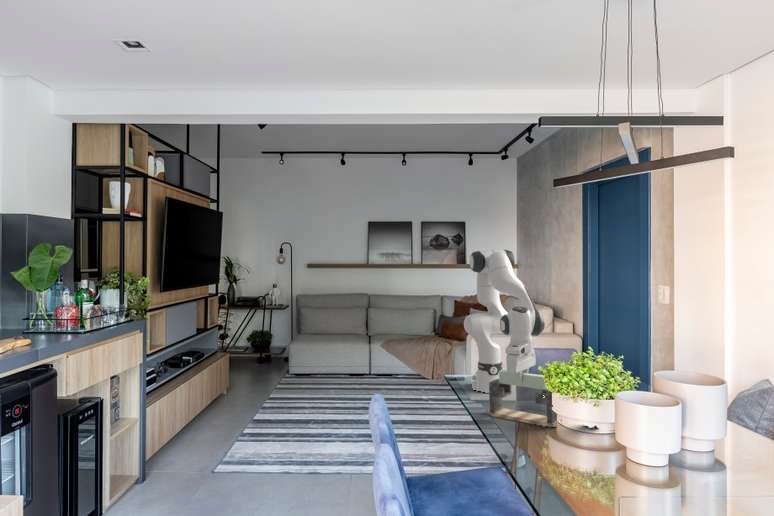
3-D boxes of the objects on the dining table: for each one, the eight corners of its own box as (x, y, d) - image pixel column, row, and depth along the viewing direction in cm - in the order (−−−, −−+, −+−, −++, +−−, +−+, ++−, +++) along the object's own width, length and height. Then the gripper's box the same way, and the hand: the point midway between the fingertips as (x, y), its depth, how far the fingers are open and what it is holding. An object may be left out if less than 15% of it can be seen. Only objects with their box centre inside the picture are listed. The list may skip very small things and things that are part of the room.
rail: (499, 383, 211) (498, 371, 211) (502, 381, 213) (502, 369, 213) (544, 389, 198) (544, 377, 198) (547, 388, 200) (547, 375, 200)
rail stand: (487, 415, 212) (486, 382, 212) (496, 410, 218) (495, 378, 218) (554, 428, 193) (553, 392, 193) (562, 422, 199) (561, 387, 199)
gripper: (525, 342, 216) (526, 374, 215) (503, 349, 200) (504, 384, 200) (539, 343, 211) (540, 376, 211) (517, 351, 196) (519, 386, 196)
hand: (522, 380), depth 205 cm, fingers closed on rail, 3 cm apart
